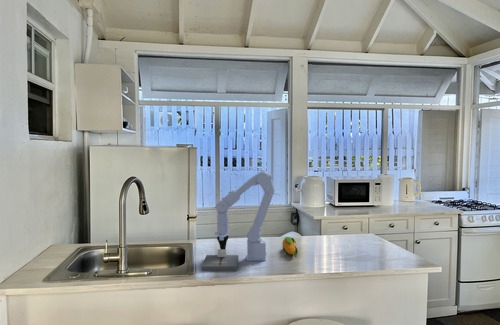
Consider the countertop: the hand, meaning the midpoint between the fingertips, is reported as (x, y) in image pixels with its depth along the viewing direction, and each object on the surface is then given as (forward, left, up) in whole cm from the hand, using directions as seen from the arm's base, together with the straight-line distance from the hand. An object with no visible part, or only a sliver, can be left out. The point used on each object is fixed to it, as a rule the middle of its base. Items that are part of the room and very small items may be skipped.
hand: (222, 250), depth 171 cm
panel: (0, +11, -3) cm, 11 cm away
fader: (0, +6, -1) cm, 6 cm away
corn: (-35, -7, -4) cm, 36 cm away
